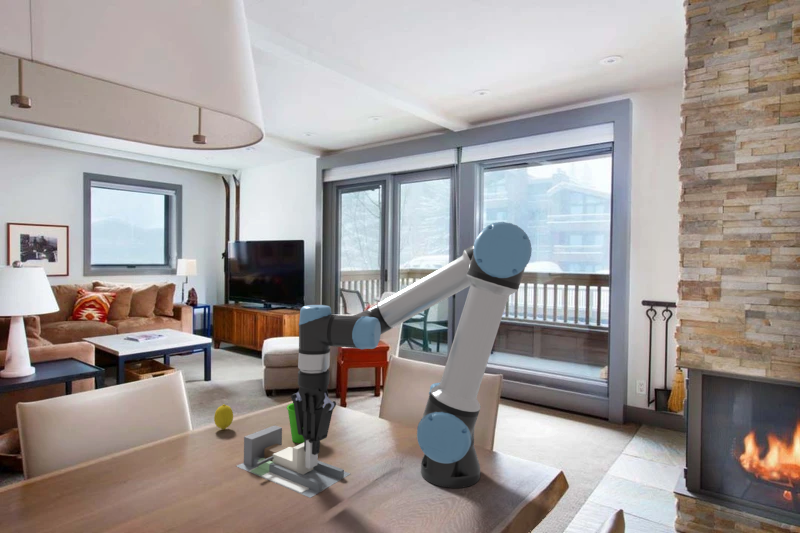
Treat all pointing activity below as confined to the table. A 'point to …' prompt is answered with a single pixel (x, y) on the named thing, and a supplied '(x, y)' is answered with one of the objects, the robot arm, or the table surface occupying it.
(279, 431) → the base
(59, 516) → the table surface
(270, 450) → the tan wooden cube
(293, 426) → the cup
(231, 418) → the lemon
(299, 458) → the cream block
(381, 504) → the table surface
